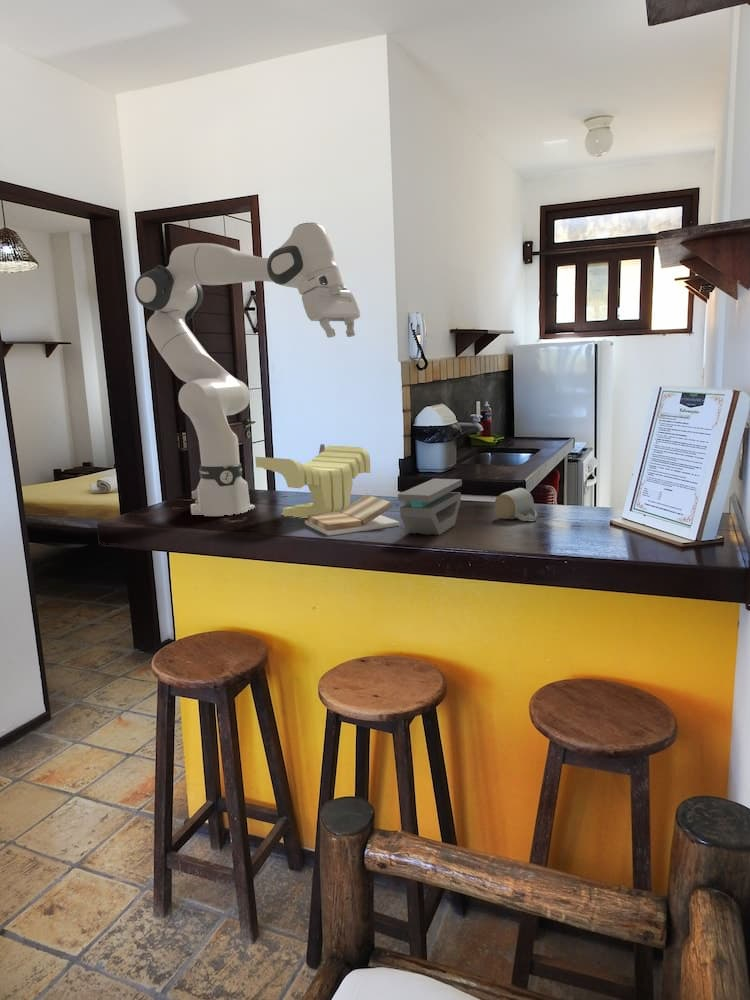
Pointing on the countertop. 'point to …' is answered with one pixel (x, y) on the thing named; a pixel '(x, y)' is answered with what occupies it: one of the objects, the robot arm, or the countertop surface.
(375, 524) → the underlay board
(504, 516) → the ceramic mug
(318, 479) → the yellow ribbed sculpture
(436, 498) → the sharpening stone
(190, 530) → the countertop surface
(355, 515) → the ash plank
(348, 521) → the oak plank
